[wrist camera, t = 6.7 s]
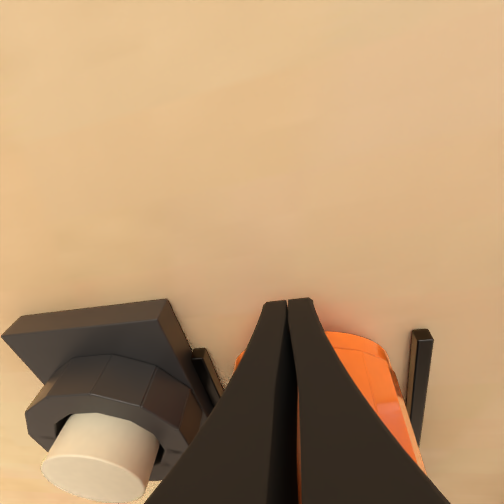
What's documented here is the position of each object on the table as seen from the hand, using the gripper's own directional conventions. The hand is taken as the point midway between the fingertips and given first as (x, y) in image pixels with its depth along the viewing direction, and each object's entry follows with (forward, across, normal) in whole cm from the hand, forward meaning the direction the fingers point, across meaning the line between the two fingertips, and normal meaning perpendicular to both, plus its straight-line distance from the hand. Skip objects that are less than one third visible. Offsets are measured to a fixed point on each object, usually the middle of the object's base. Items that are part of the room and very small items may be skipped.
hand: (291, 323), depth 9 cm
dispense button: (-1, +8, +5) cm, 10 cm away
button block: (+2, +8, +5) cm, 10 cm away
